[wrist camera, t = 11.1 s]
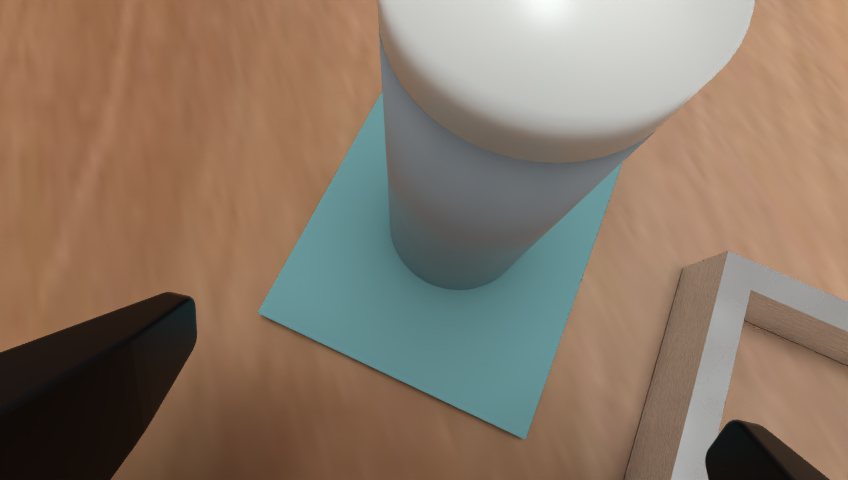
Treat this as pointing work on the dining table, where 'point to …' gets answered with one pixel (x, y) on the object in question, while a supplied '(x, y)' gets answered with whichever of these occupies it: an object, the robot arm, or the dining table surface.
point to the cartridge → (526, 113)
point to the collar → (721, 355)
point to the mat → (432, 296)
